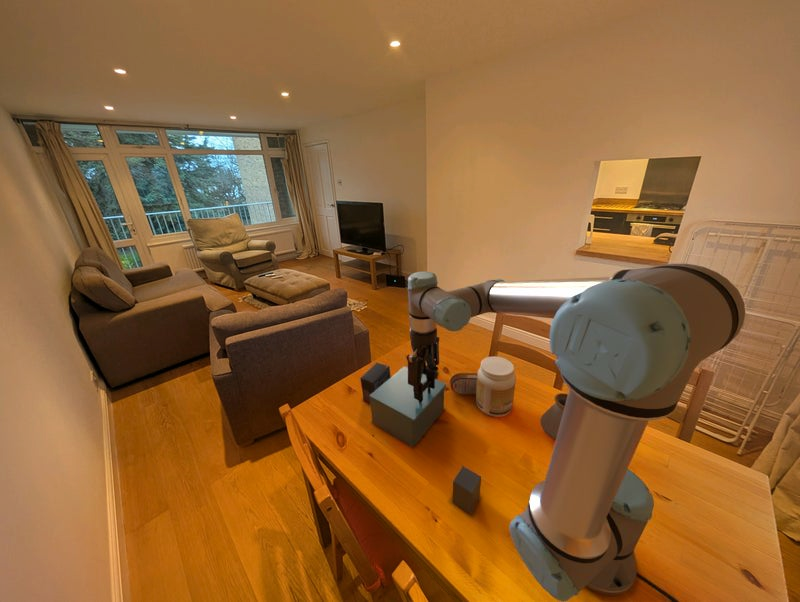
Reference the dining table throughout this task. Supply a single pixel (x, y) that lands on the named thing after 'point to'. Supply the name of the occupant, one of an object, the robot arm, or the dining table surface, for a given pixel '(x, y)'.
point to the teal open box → (406, 420)
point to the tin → (464, 383)
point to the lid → (406, 394)
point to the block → (466, 489)
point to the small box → (374, 379)
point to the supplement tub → (495, 386)
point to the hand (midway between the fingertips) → (424, 392)
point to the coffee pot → (554, 416)
